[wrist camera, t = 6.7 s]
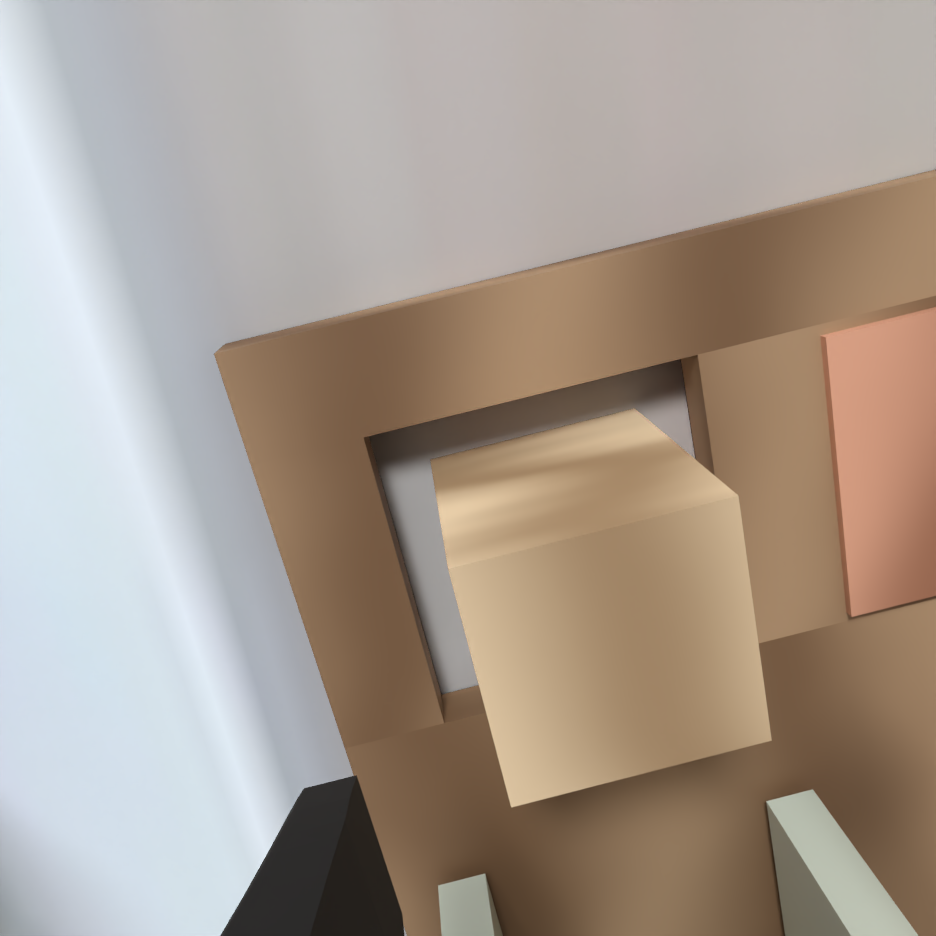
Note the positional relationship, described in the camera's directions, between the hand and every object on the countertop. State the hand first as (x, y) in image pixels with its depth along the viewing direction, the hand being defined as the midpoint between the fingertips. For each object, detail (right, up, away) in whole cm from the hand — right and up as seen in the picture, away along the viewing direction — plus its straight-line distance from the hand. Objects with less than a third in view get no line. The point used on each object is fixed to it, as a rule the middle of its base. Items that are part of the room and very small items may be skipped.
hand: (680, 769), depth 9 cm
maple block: (-1, +2, +7) cm, 7 cm away
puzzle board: (+3, -2, +9) cm, 9 cm away
